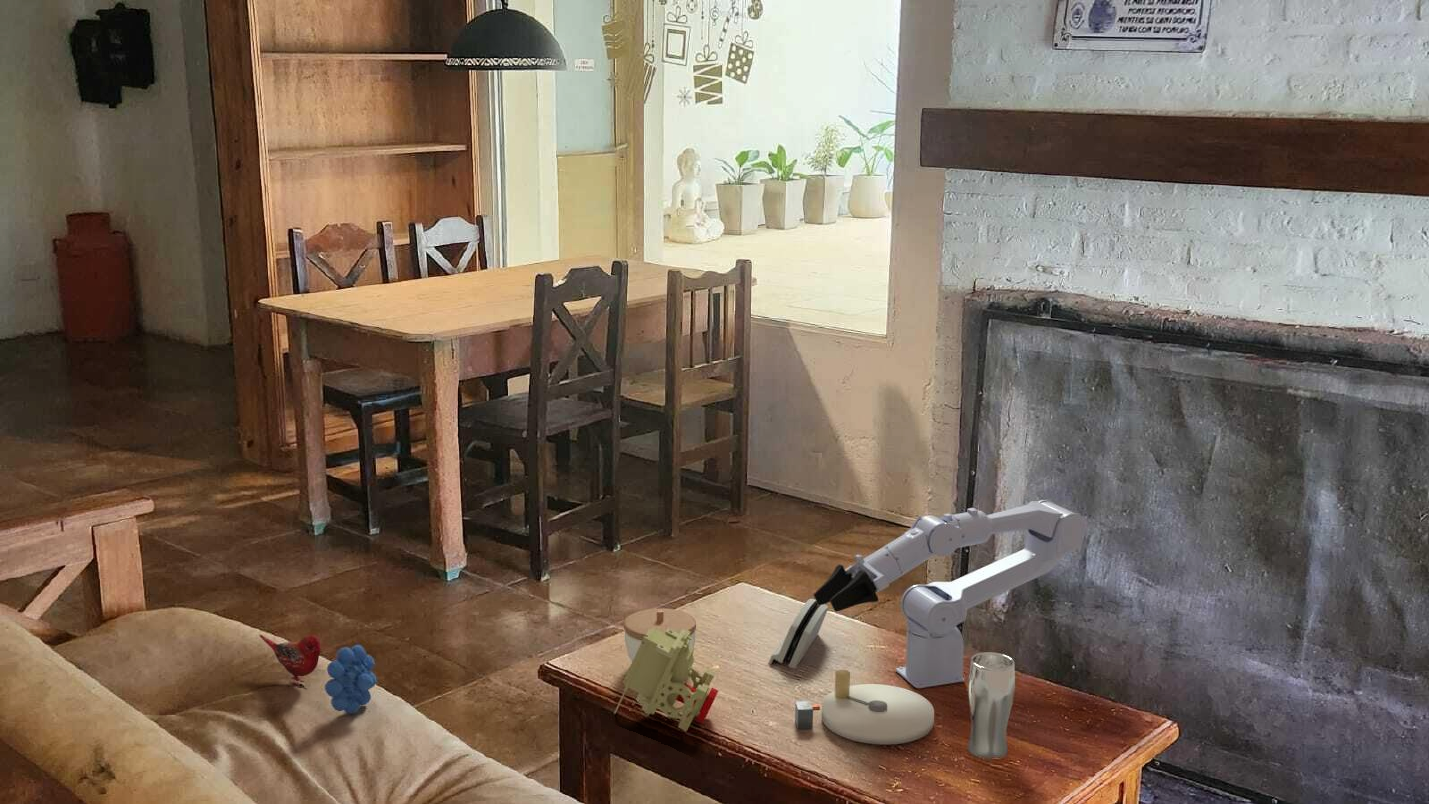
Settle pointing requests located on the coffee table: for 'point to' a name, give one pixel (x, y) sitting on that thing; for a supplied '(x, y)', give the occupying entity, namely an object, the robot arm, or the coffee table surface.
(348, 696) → the grapes
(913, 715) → the turntable
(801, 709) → the gray block
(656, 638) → the mechanical component
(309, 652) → the decorative bird figurine
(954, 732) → the coffee table surface
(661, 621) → the lidded bowl
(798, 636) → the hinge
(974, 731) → the beer glass
